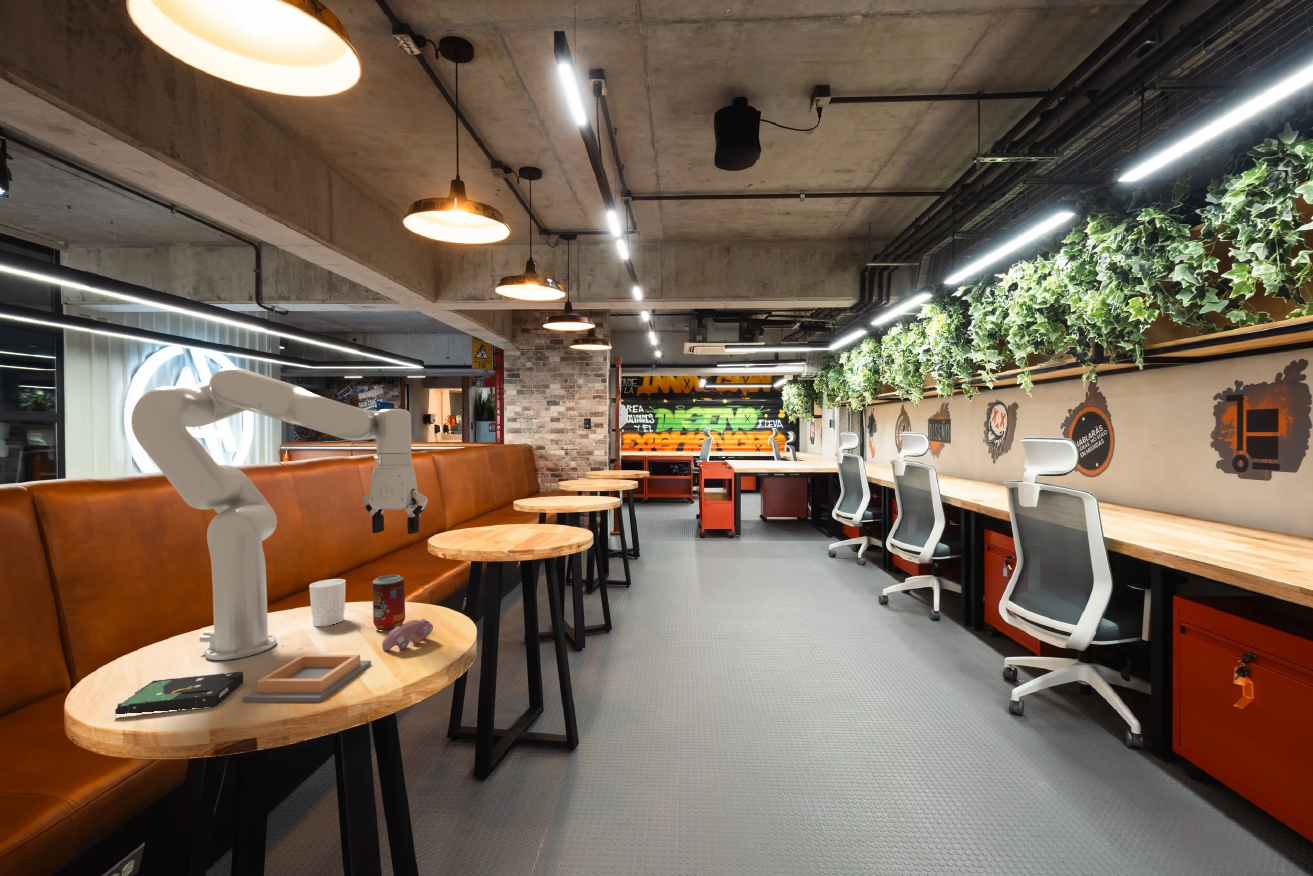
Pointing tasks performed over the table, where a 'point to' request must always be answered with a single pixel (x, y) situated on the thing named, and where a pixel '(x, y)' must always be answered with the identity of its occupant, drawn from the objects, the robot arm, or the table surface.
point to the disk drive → (182, 693)
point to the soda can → (388, 602)
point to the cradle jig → (307, 678)
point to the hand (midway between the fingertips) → (395, 532)
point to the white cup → (327, 601)
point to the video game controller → (407, 634)
